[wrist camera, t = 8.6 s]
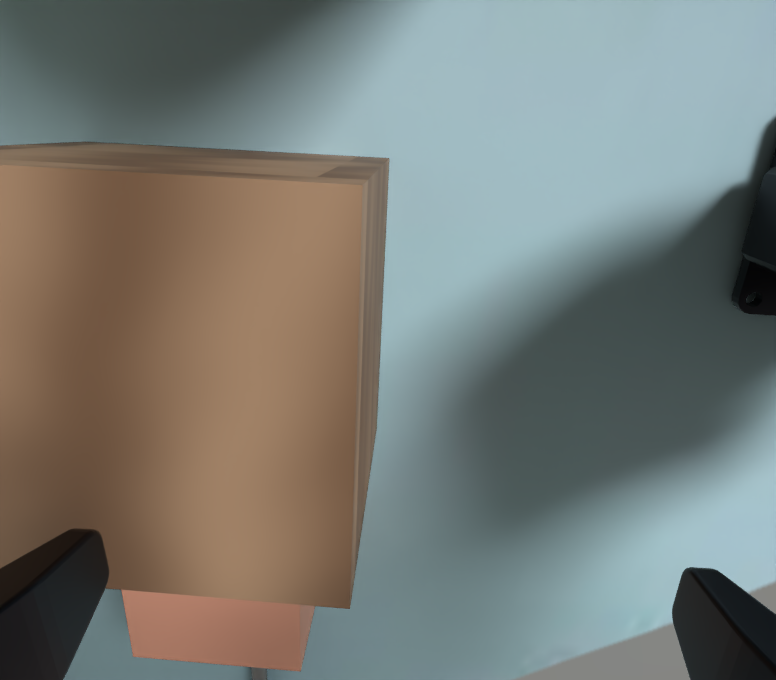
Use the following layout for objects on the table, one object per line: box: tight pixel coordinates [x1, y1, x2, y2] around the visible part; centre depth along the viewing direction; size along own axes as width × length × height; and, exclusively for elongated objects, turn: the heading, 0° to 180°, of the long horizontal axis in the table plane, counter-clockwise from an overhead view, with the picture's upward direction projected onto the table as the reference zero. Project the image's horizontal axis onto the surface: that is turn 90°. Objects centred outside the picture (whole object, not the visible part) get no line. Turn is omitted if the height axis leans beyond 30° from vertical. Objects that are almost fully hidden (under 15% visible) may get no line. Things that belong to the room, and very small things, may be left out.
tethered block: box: [122, 590, 315, 680], centre depth 22 cm, size 6×19×6 cm, turn 177°
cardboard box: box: [0, 142, 389, 609], centre depth 15 cm, size 10×10×8 cm
